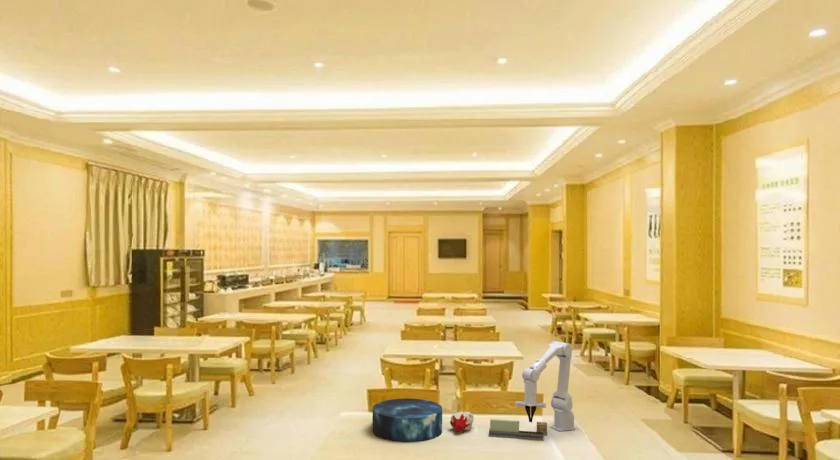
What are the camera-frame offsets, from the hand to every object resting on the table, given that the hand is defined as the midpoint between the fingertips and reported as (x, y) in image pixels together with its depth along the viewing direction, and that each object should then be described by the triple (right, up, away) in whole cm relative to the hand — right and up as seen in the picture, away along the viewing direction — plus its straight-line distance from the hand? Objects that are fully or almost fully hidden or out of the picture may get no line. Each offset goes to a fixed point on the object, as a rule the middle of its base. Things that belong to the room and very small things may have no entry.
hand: (530, 421), depth 279 cm
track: (-7, -8, +2) cm, 10 cm away
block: (+7, -8, +6) cm, 12 cm away
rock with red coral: (-33, -8, +9) cm, 35 cm away
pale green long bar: (-12, -6, +3) cm, 14 cm away
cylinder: (-60, -8, +9) cm, 61 cm away
